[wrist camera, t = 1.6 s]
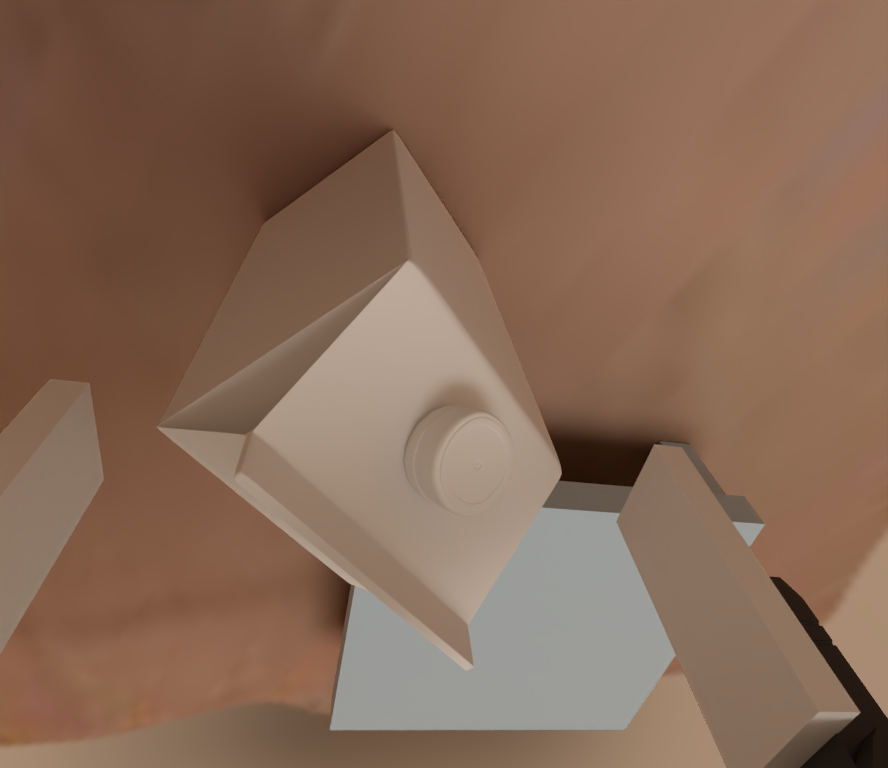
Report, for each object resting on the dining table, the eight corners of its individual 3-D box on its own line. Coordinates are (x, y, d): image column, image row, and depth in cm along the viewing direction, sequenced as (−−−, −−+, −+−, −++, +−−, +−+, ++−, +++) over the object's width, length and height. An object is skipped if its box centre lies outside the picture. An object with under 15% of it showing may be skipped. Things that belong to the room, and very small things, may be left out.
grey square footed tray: (336, 629, 42) (329, 730, 36) (371, 404, 31) (370, 494, 26) (592, 637, 46) (624, 729, 40) (700, 438, 35) (764, 524, 29)
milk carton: (360, 337, 29) (341, 729, 13) (262, 222, 26) (78, 571, 10) (480, 260, 28) (619, 602, 12) (393, 126, 24) (427, 359, 8)
